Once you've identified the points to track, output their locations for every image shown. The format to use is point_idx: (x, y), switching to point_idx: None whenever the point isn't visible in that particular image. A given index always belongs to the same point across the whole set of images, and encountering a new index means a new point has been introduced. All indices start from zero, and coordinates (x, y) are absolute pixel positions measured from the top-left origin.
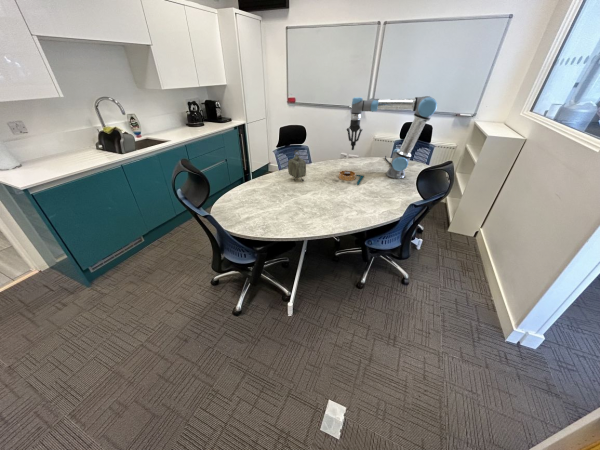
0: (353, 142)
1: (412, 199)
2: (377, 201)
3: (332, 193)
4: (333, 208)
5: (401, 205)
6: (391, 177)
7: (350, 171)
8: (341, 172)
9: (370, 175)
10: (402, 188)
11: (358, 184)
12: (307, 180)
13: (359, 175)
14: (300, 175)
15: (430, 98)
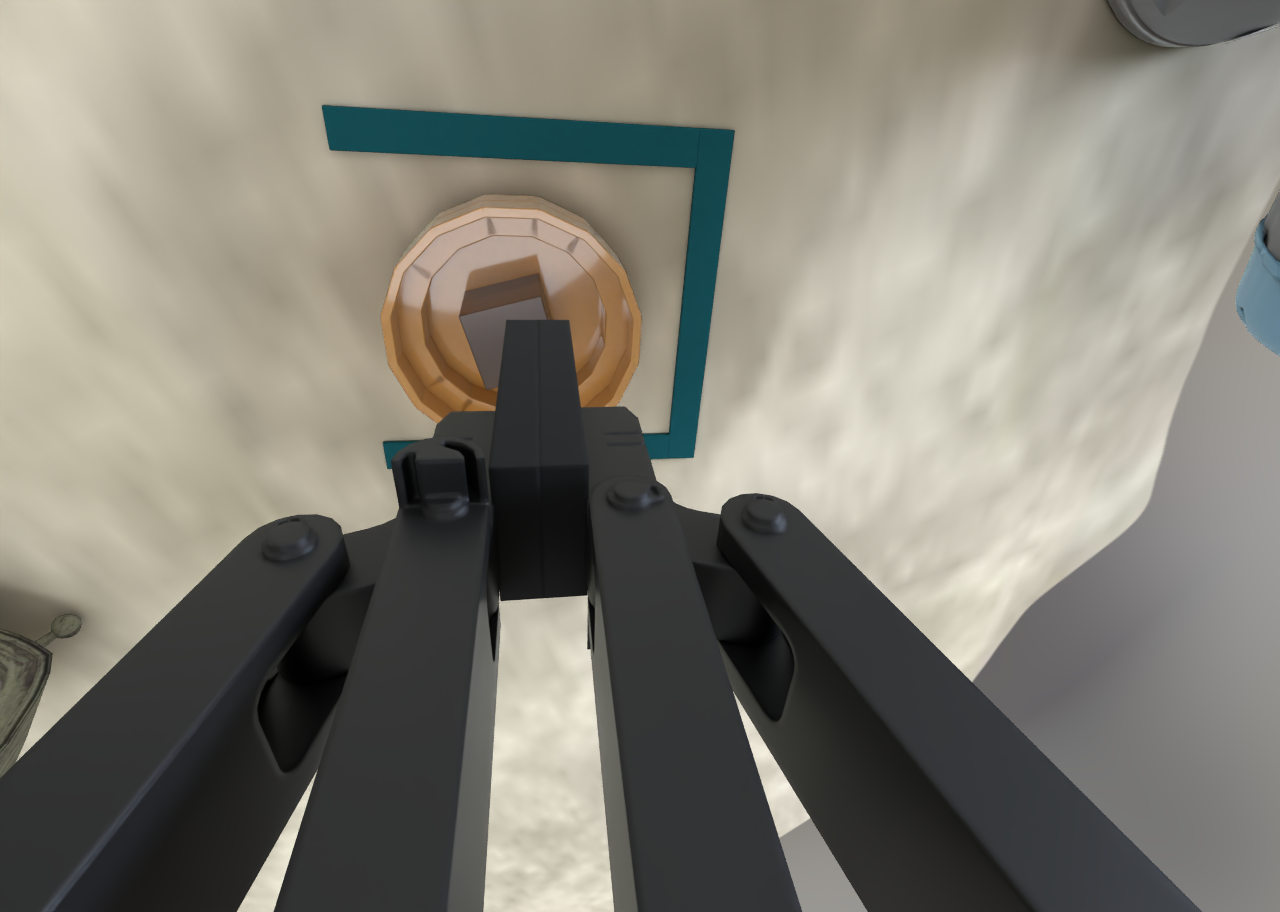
0: (562, 581)
1: (1111, 526)
2: None
3: (511, 686)
4: (593, 811)
5: (1000, 630)
6: (1132, 32)
7: (532, 218)
8: (401, 288)
9: (834, 43)
10: (1124, 353)
11: (694, 448)
12: (98, 576)
13: (669, 139)
14: (28, 730)
15: None
